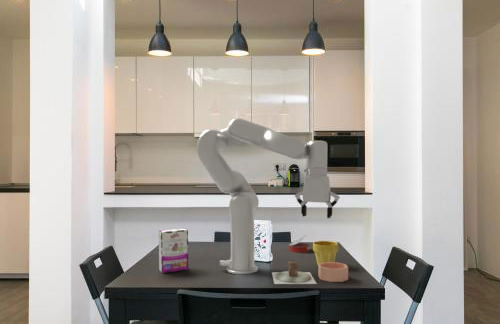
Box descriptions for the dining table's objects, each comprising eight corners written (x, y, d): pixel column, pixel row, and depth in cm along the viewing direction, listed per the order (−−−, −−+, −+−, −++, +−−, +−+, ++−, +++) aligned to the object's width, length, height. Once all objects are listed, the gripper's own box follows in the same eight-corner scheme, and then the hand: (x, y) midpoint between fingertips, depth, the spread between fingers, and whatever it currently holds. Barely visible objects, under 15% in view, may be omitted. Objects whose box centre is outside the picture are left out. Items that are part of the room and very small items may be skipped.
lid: (277, 283, 139) (277, 266, 139) (274, 273, 152) (274, 258, 152) (313, 282, 139) (313, 266, 139) (307, 273, 152) (307, 258, 152)
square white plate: (274, 285, 138) (274, 283, 138) (271, 273, 153) (271, 272, 153) (316, 285, 138) (316, 283, 138) (309, 273, 153) (309, 272, 153)
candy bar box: (184, 267, 163) (185, 228, 163) (188, 270, 158) (188, 229, 159) (158, 270, 158) (158, 230, 158) (161, 273, 153) (161, 231, 153)
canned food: (301, 262, 190) (296, 246, 187) (287, 256, 198) (281, 240, 195) (316, 249, 196) (311, 233, 193) (301, 244, 204) (296, 228, 201)
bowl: (322, 283, 140) (322, 269, 140) (316, 275, 151) (316, 262, 151) (350, 282, 141) (350, 269, 141) (343, 275, 151) (343, 262, 151)
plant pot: (319, 270, 158) (319, 245, 158) (309, 264, 168) (309, 241, 168) (342, 268, 161) (342, 244, 161) (330, 262, 171) (330, 240, 171)
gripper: (292, 172, 151) (292, 216, 151) (337, 173, 144) (337, 219, 144) (298, 172, 158) (297, 214, 157) (341, 173, 151) (341, 217, 150)
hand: (316, 216), depth 150 cm, fingers open, 9 cm apart
